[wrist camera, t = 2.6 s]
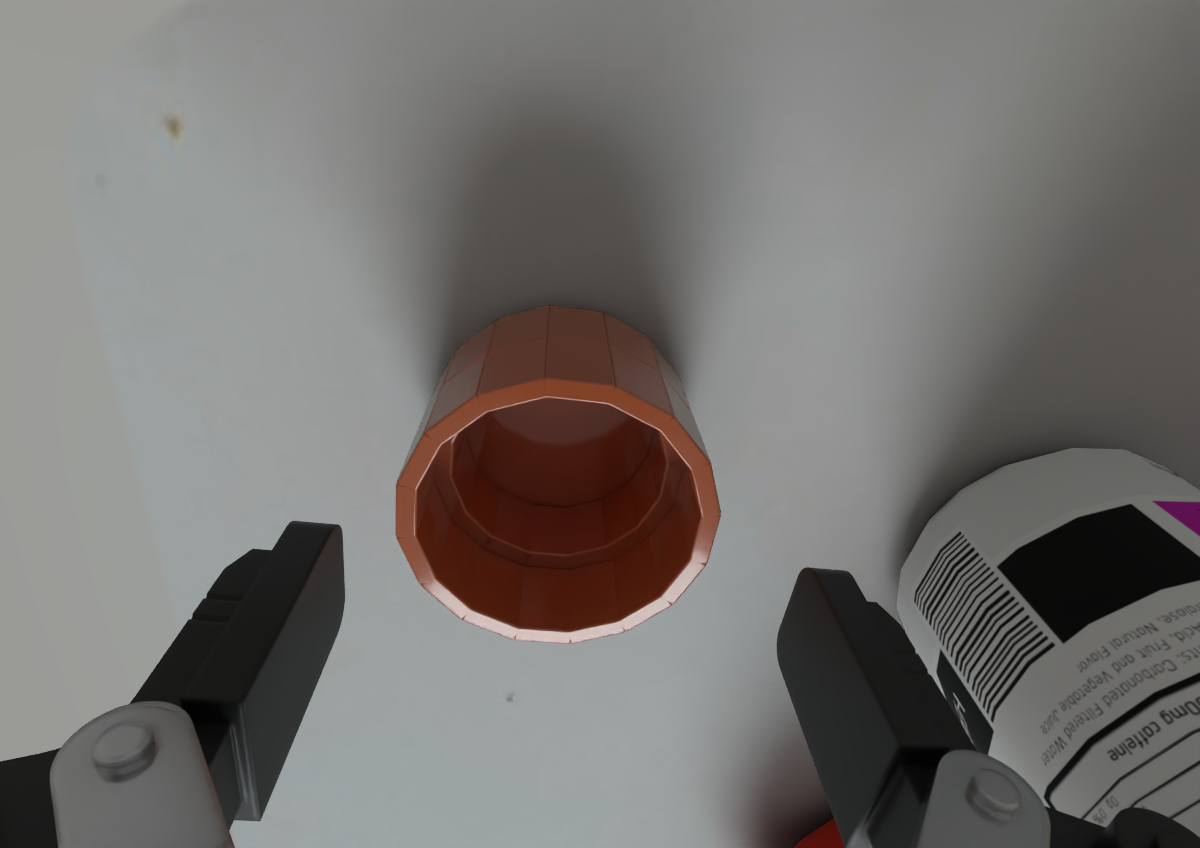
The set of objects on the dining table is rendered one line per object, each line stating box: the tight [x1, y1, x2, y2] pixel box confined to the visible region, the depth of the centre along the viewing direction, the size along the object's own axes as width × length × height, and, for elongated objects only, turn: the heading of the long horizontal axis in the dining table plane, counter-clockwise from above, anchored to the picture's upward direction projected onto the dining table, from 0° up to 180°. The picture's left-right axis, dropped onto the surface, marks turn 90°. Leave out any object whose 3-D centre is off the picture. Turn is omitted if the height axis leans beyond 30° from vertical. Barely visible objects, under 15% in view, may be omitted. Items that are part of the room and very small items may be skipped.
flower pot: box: [396, 306, 721, 644], centre depth 15 cm, size 6×6×4 cm
